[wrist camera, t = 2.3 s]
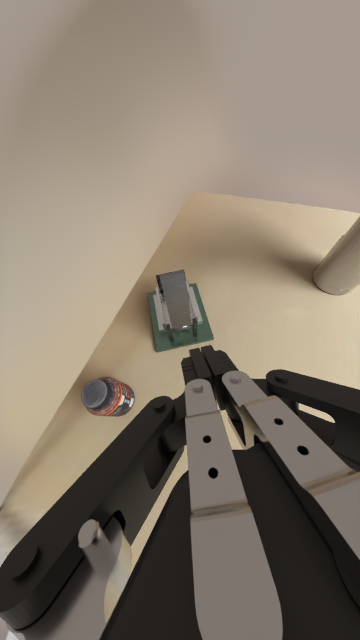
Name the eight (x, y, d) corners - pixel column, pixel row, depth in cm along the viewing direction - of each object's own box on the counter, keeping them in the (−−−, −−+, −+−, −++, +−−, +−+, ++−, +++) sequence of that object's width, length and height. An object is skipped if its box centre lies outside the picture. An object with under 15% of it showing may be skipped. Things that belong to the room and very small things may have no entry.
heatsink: (213, 339, 42) (216, 324, 35) (157, 352, 41) (150, 339, 35) (195, 285, 49) (196, 264, 43) (148, 295, 49) (141, 276, 42)
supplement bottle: (141, 396, 37) (122, 389, 27) (120, 423, 35) (91, 426, 25) (121, 378, 39) (96, 365, 29) (100, 402, 37) (66, 397, 27)
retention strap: (192, 329, 37) (184, 273, 29) (173, 333, 37) (160, 278, 29) (191, 324, 38) (183, 269, 30) (172, 329, 38) (159, 274, 30)
